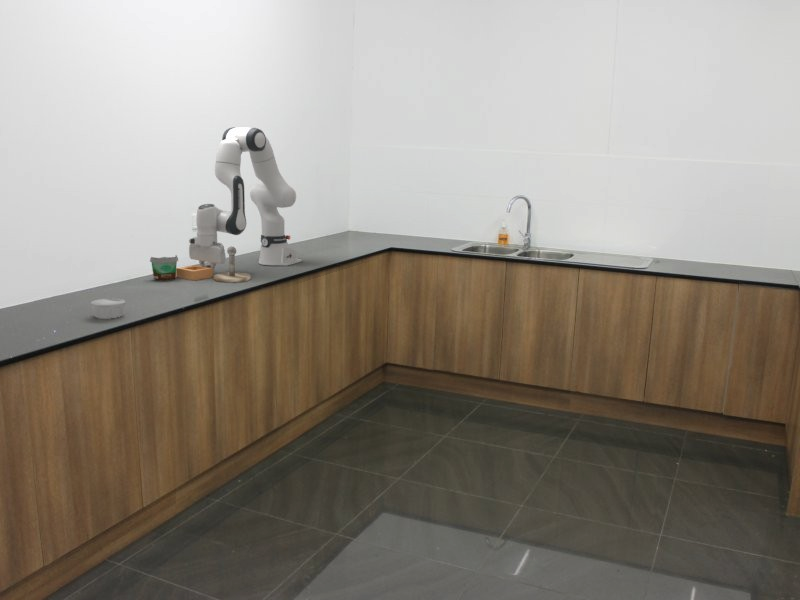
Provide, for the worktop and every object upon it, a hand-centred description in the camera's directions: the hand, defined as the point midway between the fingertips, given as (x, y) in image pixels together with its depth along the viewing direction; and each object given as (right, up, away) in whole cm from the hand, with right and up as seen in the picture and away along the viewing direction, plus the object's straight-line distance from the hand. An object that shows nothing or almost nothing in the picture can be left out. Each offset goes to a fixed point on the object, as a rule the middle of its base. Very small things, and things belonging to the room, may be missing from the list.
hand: (207, 271), depth 351 cm
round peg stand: (+13, -4, -7) cm, 15 cm away
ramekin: (-15, -19, -79) cm, 83 cm away
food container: (-14, -4, -13) cm, 20 cm away
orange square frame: (-3, -2, -4) cm, 6 cm away
